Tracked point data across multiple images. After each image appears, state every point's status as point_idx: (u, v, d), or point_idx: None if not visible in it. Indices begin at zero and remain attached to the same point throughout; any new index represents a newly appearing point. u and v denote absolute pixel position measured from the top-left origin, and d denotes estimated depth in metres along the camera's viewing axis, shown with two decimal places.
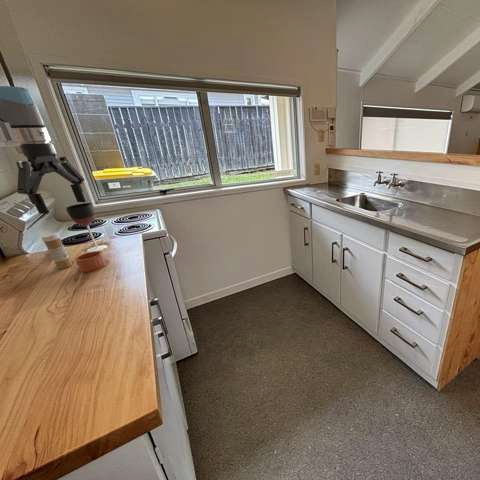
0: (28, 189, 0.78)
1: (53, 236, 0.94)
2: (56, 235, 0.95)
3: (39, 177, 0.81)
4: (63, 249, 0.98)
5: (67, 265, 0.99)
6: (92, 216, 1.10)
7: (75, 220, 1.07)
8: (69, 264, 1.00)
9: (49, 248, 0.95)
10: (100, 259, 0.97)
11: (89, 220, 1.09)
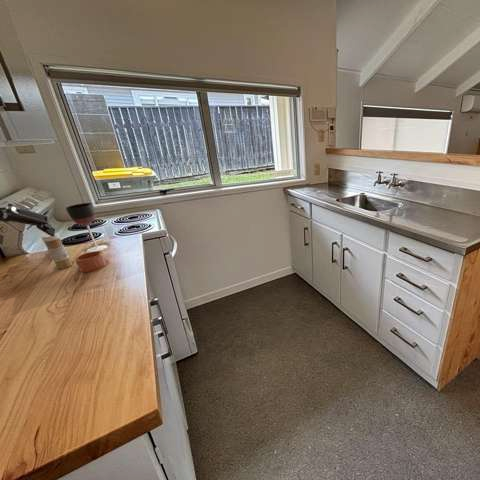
0: None
1: (53, 236, 0.94)
2: (56, 235, 0.95)
3: None
4: (63, 249, 0.98)
5: (67, 265, 0.99)
6: (92, 216, 1.10)
7: (75, 220, 1.07)
8: (69, 264, 1.00)
9: (49, 248, 0.95)
10: (100, 259, 0.97)
11: (89, 220, 1.09)
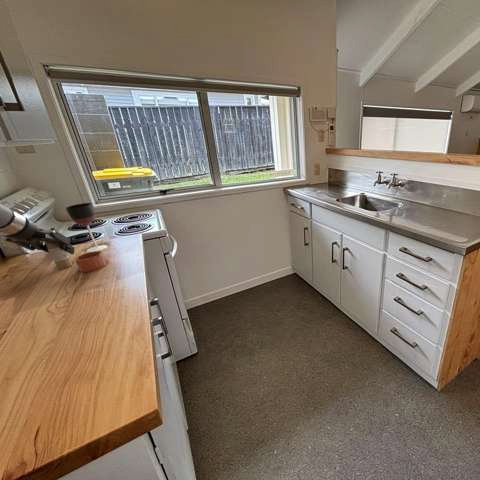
0: (31, 249, 0.92)
1: None
2: None
3: (32, 243, 0.90)
4: None
5: (67, 265, 0.99)
6: (92, 216, 1.10)
7: (75, 220, 1.07)
8: (69, 264, 1.00)
9: (49, 248, 0.95)
10: (100, 259, 0.97)
11: (89, 220, 1.09)
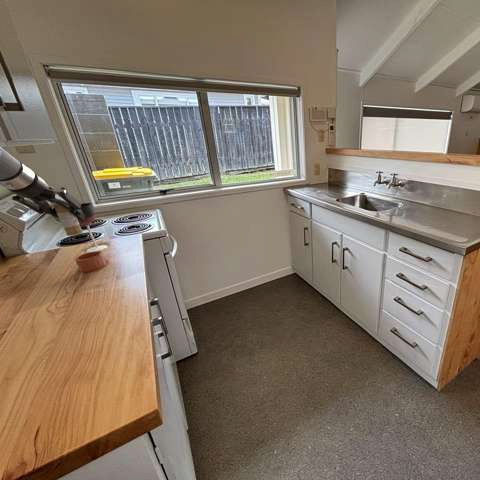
0: (39, 212, 0.85)
1: None
2: None
3: (40, 205, 0.83)
4: None
5: (77, 232, 0.92)
6: (92, 216, 1.10)
7: None
8: (79, 231, 0.93)
9: (58, 212, 0.88)
10: (100, 259, 0.97)
11: (89, 220, 1.09)
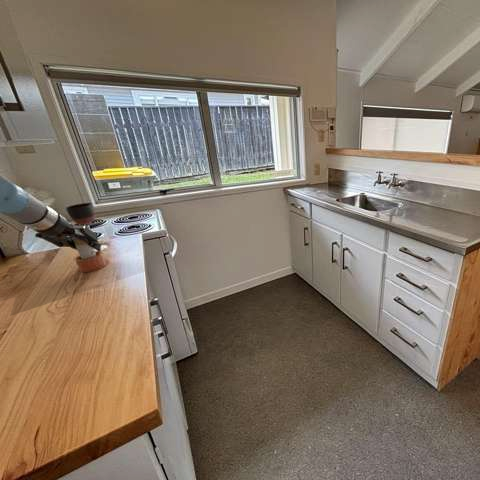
0: (59, 245, 0.90)
1: None
2: None
3: (61, 239, 0.87)
4: (90, 246, 0.95)
5: None
6: (92, 216, 1.10)
7: (75, 220, 1.07)
8: None
9: (77, 244, 0.92)
10: (100, 259, 0.97)
11: (89, 220, 1.09)
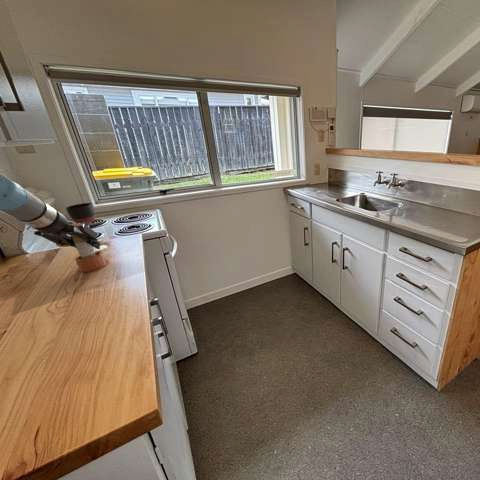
0: (58, 243, 0.90)
1: None
2: None
3: (60, 237, 0.87)
4: None
5: None
6: (92, 216, 1.10)
7: (75, 220, 1.07)
8: None
9: (76, 242, 0.92)
10: (100, 259, 0.97)
11: (89, 220, 1.09)
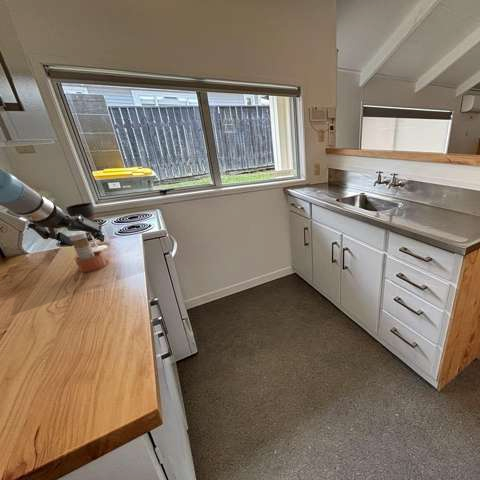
0: (45, 237, 0.87)
1: (80, 235, 0.92)
2: (83, 234, 0.93)
3: (51, 231, 0.85)
4: (90, 248, 0.95)
5: None
6: (92, 216, 1.10)
7: None
8: None
9: (76, 247, 0.93)
10: (100, 259, 0.97)
11: None
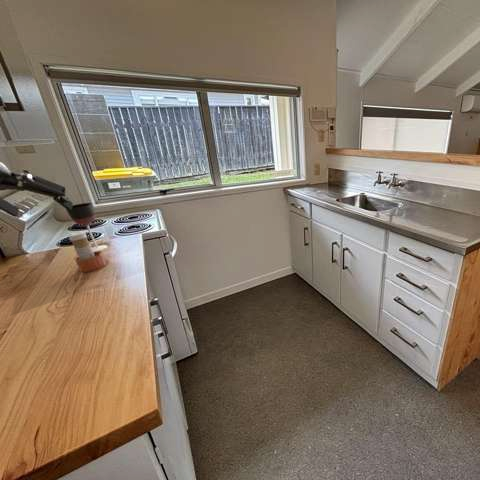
0: None
1: (80, 235, 0.92)
2: (83, 234, 0.93)
3: None
4: (90, 248, 0.95)
5: None
6: (92, 216, 1.10)
7: (75, 220, 1.07)
8: None
9: (76, 247, 0.93)
10: (100, 259, 0.97)
11: (89, 220, 1.09)
